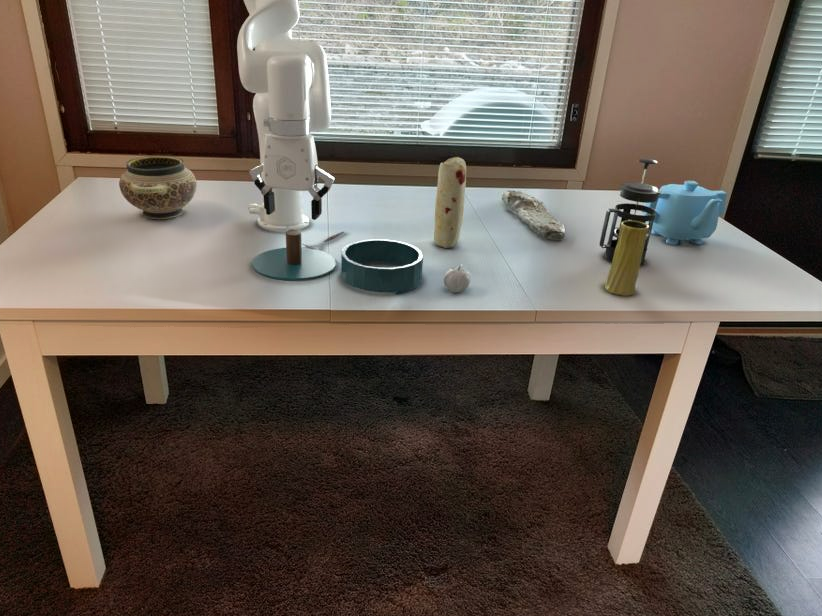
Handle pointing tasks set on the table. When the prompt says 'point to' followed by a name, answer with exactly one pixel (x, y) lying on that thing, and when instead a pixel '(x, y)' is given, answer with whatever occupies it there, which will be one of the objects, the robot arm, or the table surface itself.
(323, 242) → the fork
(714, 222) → the teapot
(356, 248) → the pot
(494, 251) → the table surface
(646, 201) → the french press
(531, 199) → the elongated rock
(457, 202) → the food model
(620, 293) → the vase
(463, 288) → the garlic
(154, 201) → the ceramic bowl
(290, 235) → the lid
